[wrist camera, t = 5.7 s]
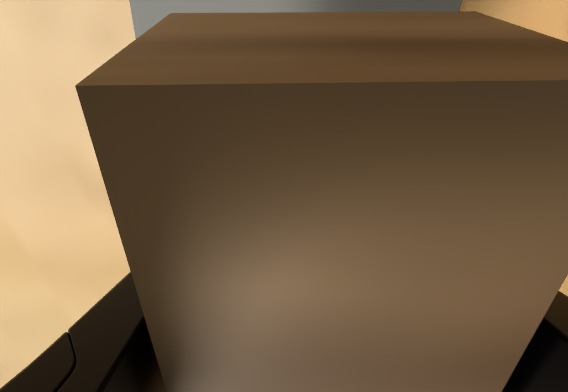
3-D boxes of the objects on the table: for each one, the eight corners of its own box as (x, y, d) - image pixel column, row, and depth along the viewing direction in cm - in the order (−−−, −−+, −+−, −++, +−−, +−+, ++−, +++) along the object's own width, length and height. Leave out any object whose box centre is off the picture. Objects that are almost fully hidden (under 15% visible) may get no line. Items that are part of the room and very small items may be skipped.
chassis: (116, -136, 12) (62, -164, 9) (478, -118, 13) (552, -138, 10) (176, 244, 21) (160, 301, 18) (390, 243, 22) (413, 298, 19)
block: (170, 13, 7) (75, 85, 4) (475, 11, 8) (677, 78, 4) (218, 339, 13) (199, 501, 9) (395, 333, 13) (447, 488, 9)
